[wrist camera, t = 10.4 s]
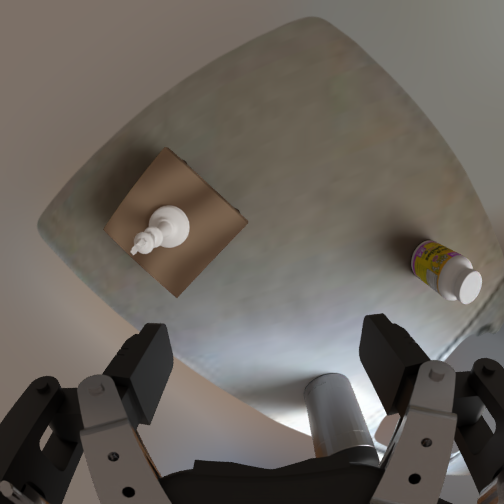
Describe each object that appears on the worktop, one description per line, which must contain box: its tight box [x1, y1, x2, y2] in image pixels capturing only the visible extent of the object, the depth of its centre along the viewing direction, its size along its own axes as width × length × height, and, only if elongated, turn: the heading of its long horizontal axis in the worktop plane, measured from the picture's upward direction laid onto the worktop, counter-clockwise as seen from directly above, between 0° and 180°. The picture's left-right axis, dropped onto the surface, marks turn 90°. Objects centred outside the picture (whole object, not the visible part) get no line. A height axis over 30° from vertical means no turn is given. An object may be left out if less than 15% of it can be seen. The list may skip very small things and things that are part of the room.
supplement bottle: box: [411, 240, 482, 304], centre depth 33 cm, size 7×7×13 cm
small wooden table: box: [103, 147, 248, 298], centre depth 34 cm, size 13×13×7 cm
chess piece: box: [130, 205, 189, 255], centre depth 26 cm, size 5×5×10 cm
